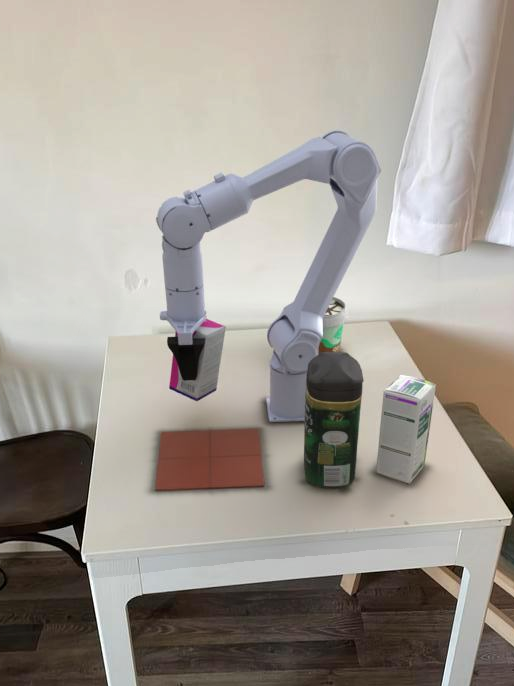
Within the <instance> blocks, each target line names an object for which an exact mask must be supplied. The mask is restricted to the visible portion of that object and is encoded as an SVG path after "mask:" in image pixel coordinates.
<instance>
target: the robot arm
mask: <svg viewBox="0 0 514 686" xmlns="http://www.w3.org/2000/svg"><path fill="white" fill-rule="evenodd" d="M381 173H382V169H381V166H380V163H379V161H378V158H377V155H376V152H375V151H374V149H373V148H372V147H371V146H370V144H368V143H367V142H364V141H362V140H358V139H356V138H354V137H352V136H351V135H349V134H348V133H347V132H345V131H342V130H332V131H328V132H327V133H325V134H323V136H317V137H313V138H311V139H309V140H308V141H306V142H304V143H303V144H301V145H300V146H298V147H296V148H295V149H293V150H291V151H289V152H287V153H285V154H284V155H282V156H280V157H278V158H276V159H274V160H273V161H271V162H269V163H267V164H265V165H263V166H262V167H260V168H258V169H257V170H254V171H252V172H251V173H249V174H246V175H245V176H243V177H241V176H239V175H236V174H234V173H228V174H226V175H225V174H224V173H223V172H219V173H217V174H215V175H214V176H213V179H214V180H213V181H211V182H209V183H206V184H205V185H202V186H201V187H199V188H197V189H195V190H192V191H191V190H190V189H187V190H185V191H183V193H182V194H183V197H178V196H173V197H170V198H167V199H166V200H165V201H163V202H162V203H161V206H159V208H158V211H157V215H156V217H155V222H156V225H157V228H158V229H159V230H160V232H161V233H162V235H161V249H162V256H161V257H162V268H163V278H164V289H165V291H164V293H165V301H166V310H162V311H160V312H159V320H160V321H166V322H168V324H169V325H170V326H171V328H172V329H174V331H175V332H177V334H178V337H175V336H167V339H166V344H167V348H168V349H169V350H170V352H171V353H172V356H173V355H174V357H175V359H176V361H177V364H178V367H179V371H180V374H181V377H182V379H183V381H186V380H196V378H197V372H198V363H199V357H200V354H201V351H202V349H203V348H204V345H205V338H194V337H193V336H192V334H193V333H194V331H195V330H196V329H197V328H198V327H199V326H200V325H201V324H202V323H203V322H204V321H205V320H206V319H207V311H206V307H205V287H204V286H205V285H204V271H203V270H204V269H203V255H202V252H201V251H202V250H201V241H202V239H203V238H204V235H205V233H211V232H212V231H214V230H216V229H218V228H220V227H223V226H225V225H226V224H228V223H231V222H232V221H235V220H236V219H239V218H241V217H243V216H245V215H247V214H248V213H249V211H250V209H251V206H252V204H253V202H254V201H256V200H258V199H261V198H263V197H265V196H268V195H270V194H272V193H274V192H277V191H280V190H282V189H284V188H287V187H289V186H291V185H294V184H297V183H298V182H300V181H304V180H308V181H313V182H318V183H321V184H327V185H329V186H330V189H331V192H332V194H333V197H334V200H335V203H336V206H337V209H336V211H335V213H334V215H333V218H332V220H331V222H330V224H329V226H328V228H327V230H326V232H325V234H324V237H323V239H322V241H321V243H320V245H319V247H318V249H317V252H316V253H315V256H314V258H313V260H312V262H311V264H310V267H308V270H307V273H306V275H305V277H304V279H303V281H302V283H301V285H300V286H299V289H298V291H297V293H296V296H295V298H294V300H293V301H292V302H290V303H289V304H287V305H285V306H284V307H283V308H282V311H281V313H280V315H278V317H277V318H276V319H274V320H273V321H272V322H271V323H270V325H269V326H268V328H267V331H266V339H267V343H268V344H269V346H270V347H271V348H272V350H273V351H272V354H271V356H270V360H269V397H266V399H265V401H266V409H267V416H268V417H267V418H268V421H269V422H270V423H285V422H305V394H306V379H307V369H308V364H309V362H310V361H311V360H312V359H313V358H314V357H315V356H317V355H318V349H319V344H320V341H321V339H322V337H323V317H324V315H325V313H326V311H327V309H328V307H329V305H330V303H331V301H332V299H333V297H335V294H336V293H337V290H338V289H339V287H340V285H341V283H342V281H343V278H344V277H345V274H346V273H347V271H348V269H349V267H350V265H351V263H352V261H353V259H354V257H355V255H356V252H357V251H358V249H359V247H360V245H361V243H362V241H363V239H364V237H365V235H366V233H367V231H368V229H369V227H370V225H371V223H372V221H373V219H374V217H375V214H376V212H377V205H378V204H377V202H378V201H377V200H378V178H379V177H380V174H381Z"/></svg>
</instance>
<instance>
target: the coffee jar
mask: <svg viewBox="0 0 514 686" xmlns="http://www.w3.org/2000/svg"><path fill="white" fill-rule="evenodd" d="M363 375H364V374H363V369H362V367H361V365H360V362H359V361H358V360H357V359H356V358H355V357H353V356H351V355H350V354H349V353H348V352H341V351H339V352H321V353H320V354H319V355H317V356H315V357H314V358H313V359H312V360H311V361H310V362H309V364H308V369H307V379H306V394H305V421H303V422H304V423H303V424H304V425H303V427H304V428H303V429H304V434H303V435H304V436H303V437H304V438H303V439H304V441H303V473H304V476H305V479H306V481H307V482H308V483H309V484H311V485H313V486H316V487H320V488H323V489H339V488H343V487H347V486H349V485H351V484H352V483H353V482H354V480H355V478H356V469H357V456H358V444H359V442H358V441H359V432H360V421H361V419H360V418H361V408H362V399H363V383H364V376H363Z"/></svg>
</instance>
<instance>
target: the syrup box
mask: <svg viewBox="0 0 514 686" xmlns="http://www.w3.org/2000/svg"><path fill="white" fill-rule="evenodd" d="M435 393H436V383H434V382H431V381H429V380H426V379H423V378H419V377H414V376H410V375H403V374H400V375H399V376H398V377H397V378H396V379H395V380H393V381H392V382H391V383H390V384H389V385H388V386H386V388H385V389H384V390H383V396H382V405H381V415H380V424H379V425H380V427H379V437H378V446H377V447H378V449H377V457H376V458H377V460H376V469H375V471H376V473H377V474H379V475H381V476H384V477H387V478H389V479H393V480H396V481H399V482H402V483H404V484H405V483H406V484H409V485H410V484H411V483H412V481H413V480H414V479H415V478H416V477H417V476H418V474H419V473H420V472H421V471H422V470H423V468H424V467H425V465H426V459H427V458H426V457H427V450H428V442H429V436H430V431H431V430H430V429H431V422H432V414H433V408H434V400H435Z"/></svg>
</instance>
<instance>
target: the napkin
mask: <svg viewBox="0 0 514 686" xmlns="http://www.w3.org/2000/svg"><path fill="white" fill-rule="evenodd" d="M160 432H161V433H160V439H159V440H160V441H159V450H158V459H157V469H156V478H155V492H162V491H163V492H165V491H187V490H190V491H191V490H210V489H213V490H214V489H215V490H216V489H217V490H218V489H237V488H239V489H240V488H264V487H265V479H264V469H263V461H262V451H261V443H260V442H261V441H260V434H259V428H234V429H232V428H231V429H204V430H203V429H202V430H201V429H200V430H175V431H173V430H171V431H160Z"/></svg>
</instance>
